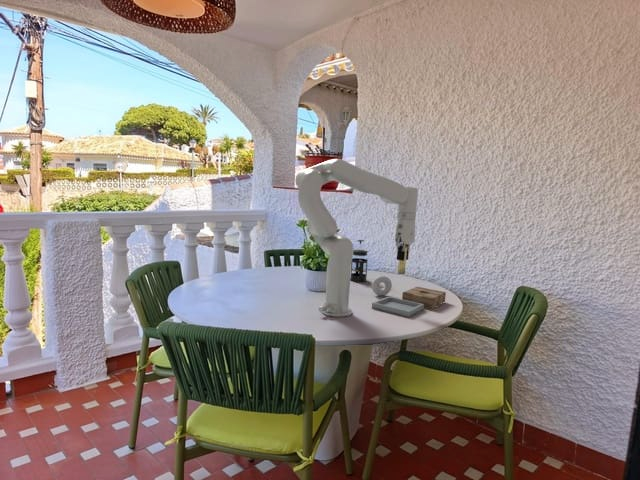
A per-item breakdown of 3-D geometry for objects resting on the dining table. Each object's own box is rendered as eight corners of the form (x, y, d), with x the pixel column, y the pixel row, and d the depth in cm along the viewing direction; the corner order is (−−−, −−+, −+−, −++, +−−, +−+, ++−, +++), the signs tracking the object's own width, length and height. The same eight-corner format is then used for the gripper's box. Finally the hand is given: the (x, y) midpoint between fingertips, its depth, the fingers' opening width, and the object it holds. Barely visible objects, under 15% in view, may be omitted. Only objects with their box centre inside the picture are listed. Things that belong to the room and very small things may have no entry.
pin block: (431, 309, 167) (432, 298, 166) (401, 303, 175) (402, 292, 175) (444, 302, 179) (445, 292, 179) (416, 296, 188) (417, 286, 187)
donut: (372, 296, 184) (373, 276, 183) (370, 294, 187) (371, 274, 186) (392, 296, 186) (393, 276, 184) (389, 294, 189) (391, 274, 188)
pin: (402, 274, 162) (405, 246, 161) (396, 273, 164) (398, 245, 163) (405, 273, 165) (408, 246, 163) (399, 272, 167) (402, 245, 165)
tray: (408, 317, 155) (408, 311, 154) (371, 308, 165) (372, 302, 165) (423, 309, 166) (424, 304, 166) (388, 301, 177) (388, 296, 177)
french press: (348, 278, 222) (350, 238, 219) (364, 278, 223) (366, 239, 220) (352, 283, 210) (354, 241, 207) (369, 283, 211) (371, 241, 209)
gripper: (406, 217, 153) (401, 263, 155) (422, 217, 166) (418, 259, 168) (389, 215, 157) (385, 260, 160) (406, 215, 170) (402, 256, 173)
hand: (402, 259), depth 164 cm, fingers closed on pin, 3 cm apart
